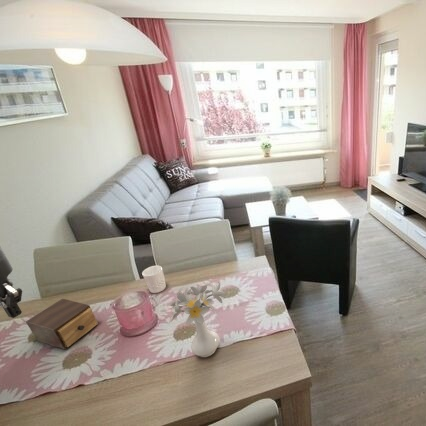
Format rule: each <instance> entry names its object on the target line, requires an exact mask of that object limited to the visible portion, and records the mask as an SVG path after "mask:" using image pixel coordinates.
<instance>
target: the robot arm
mask: <svg viewBox="0 0 426 426" xmlns="http://www.w3.org/2000/svg"><path fill="white" fill-rule="evenodd" d="M12 272H13V267H12V264H11V262H10V261H9V260H8V257H7V256H6V254H5V252H4V250H3V249H2V247H1V246H0V307H2V308H3V309H2V310H3V311H4V312H5V313H6V316H7V317H8V318H11V319H15V318H17V317H18V316H20V315H21V314H22V312H23V311H22V310H21V308H20V307H19V304H18V303H21V302H22V296H23V290H22V288H20V287H18V288H16V289H15V288H14V283H13V281H12V280H11V279H9V278H8V276H9V275H11V273H12Z"/></svg>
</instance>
